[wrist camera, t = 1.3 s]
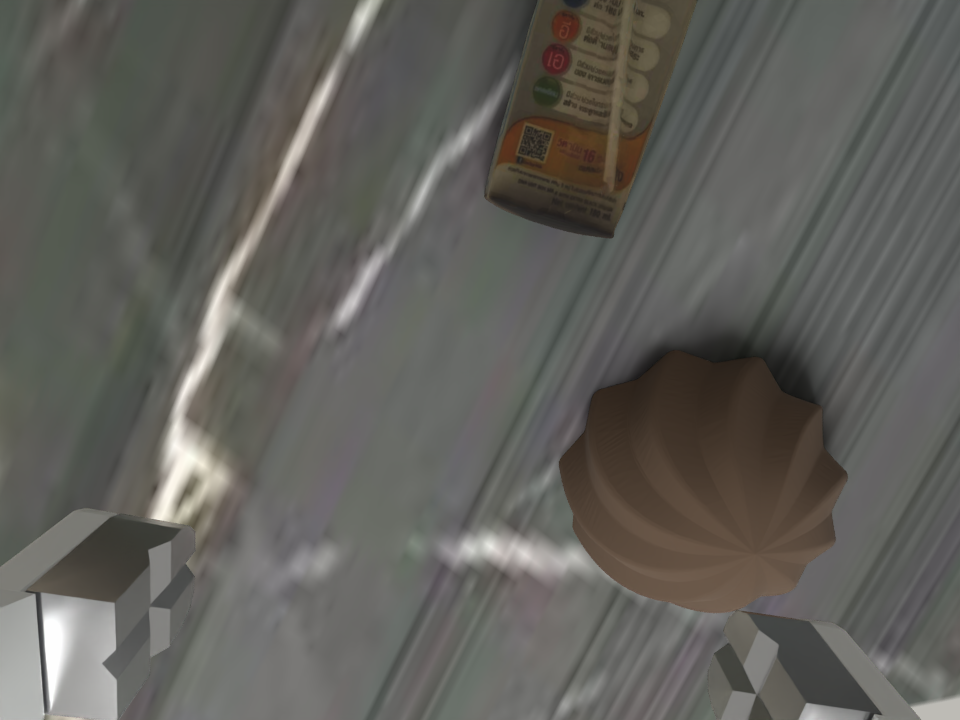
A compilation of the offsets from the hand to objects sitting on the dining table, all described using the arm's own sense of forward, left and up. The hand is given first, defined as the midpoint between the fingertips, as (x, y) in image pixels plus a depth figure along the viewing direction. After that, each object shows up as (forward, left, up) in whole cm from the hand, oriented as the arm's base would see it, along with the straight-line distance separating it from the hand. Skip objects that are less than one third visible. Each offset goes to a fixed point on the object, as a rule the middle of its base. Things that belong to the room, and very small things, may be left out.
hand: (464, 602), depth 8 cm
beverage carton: (-4, -14, -30) cm, 33 cm away
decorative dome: (-17, +12, -30) cm, 36 cm away
